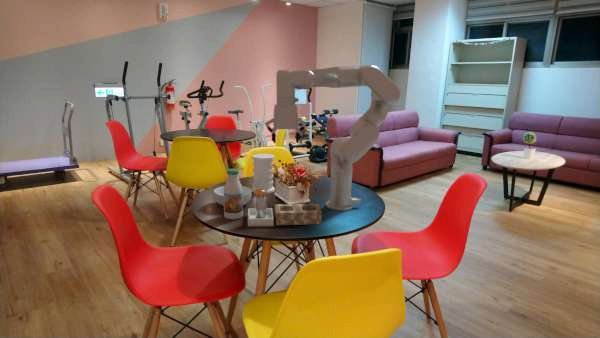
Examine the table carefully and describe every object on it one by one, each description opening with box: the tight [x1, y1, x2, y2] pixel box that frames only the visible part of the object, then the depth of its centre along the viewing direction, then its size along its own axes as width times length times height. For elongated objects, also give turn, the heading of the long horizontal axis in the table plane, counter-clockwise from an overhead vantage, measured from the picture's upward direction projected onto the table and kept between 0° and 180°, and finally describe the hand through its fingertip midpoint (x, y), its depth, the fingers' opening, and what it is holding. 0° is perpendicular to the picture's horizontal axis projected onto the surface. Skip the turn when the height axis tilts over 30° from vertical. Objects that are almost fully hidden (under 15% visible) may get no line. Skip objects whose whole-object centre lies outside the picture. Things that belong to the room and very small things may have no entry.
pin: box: [255, 189, 267, 219], centre depth 148 cm, size 4×4×12 cm
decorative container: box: [251, 153, 276, 195], centre depth 187 cm, size 12×12×18 cm
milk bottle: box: [223, 168, 244, 220], centre depth 151 cm, size 8×8×20 cm
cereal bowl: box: [213, 185, 253, 207], centre depth 166 cm, size 17×17×7 cm
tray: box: [247, 207, 275, 228], centre depth 150 cm, size 10×12×3 cm
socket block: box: [274, 203, 323, 226], centre depth 151 cm, size 18×10×6 cm, turn 97°
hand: (285, 142), depth 156 cm, fingers open, 9 cm apart
